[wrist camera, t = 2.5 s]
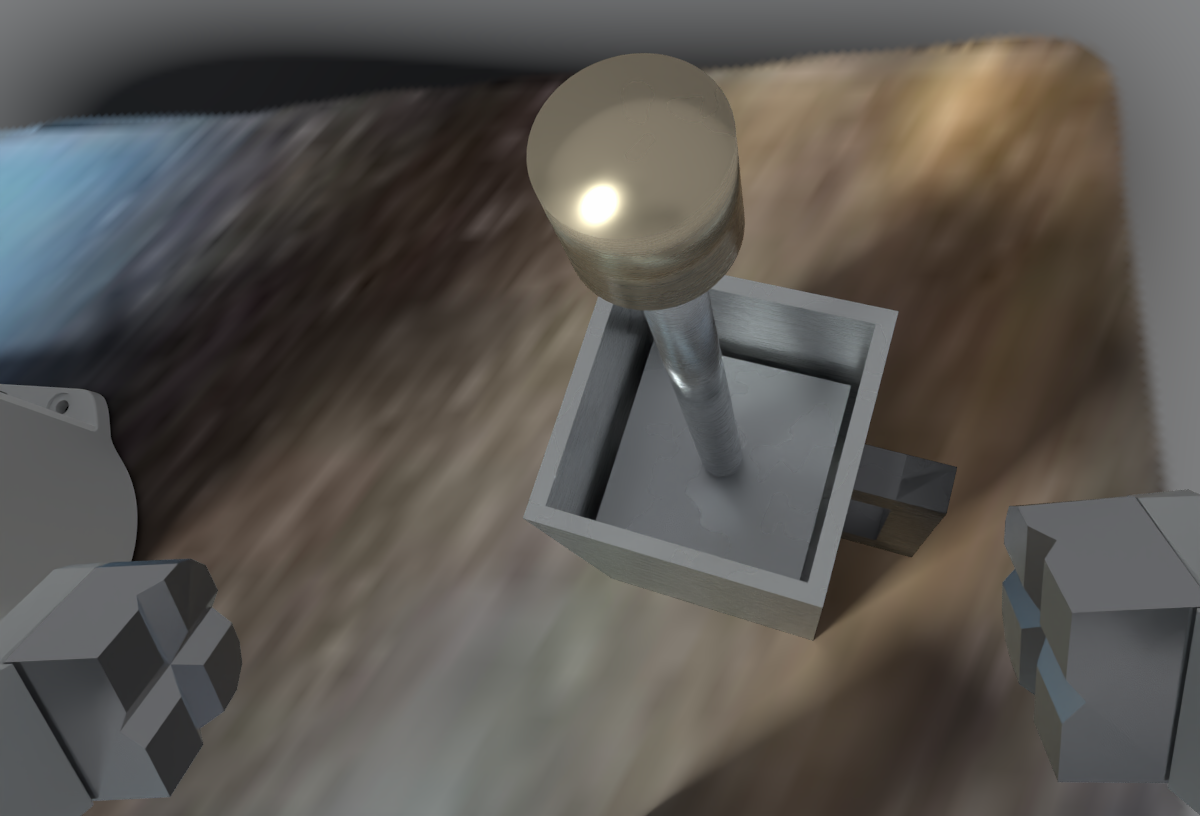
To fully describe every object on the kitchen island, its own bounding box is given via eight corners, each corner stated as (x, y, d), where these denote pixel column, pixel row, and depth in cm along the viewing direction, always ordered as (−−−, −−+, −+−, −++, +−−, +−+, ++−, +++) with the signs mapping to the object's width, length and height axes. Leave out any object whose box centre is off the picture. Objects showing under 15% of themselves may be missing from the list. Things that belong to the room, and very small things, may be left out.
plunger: (598, 531, 37) (340, 305, 16) (656, 348, 39) (494, -71, 18) (797, 590, 35) (802, 418, 14) (849, 393, 37) (923, -24, 16)
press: (611, 578, 46) (523, 518, 31) (669, 391, 48) (613, 252, 33) (878, 660, 42) (924, 638, 27) (927, 455, 45) (994, 331, 30)
